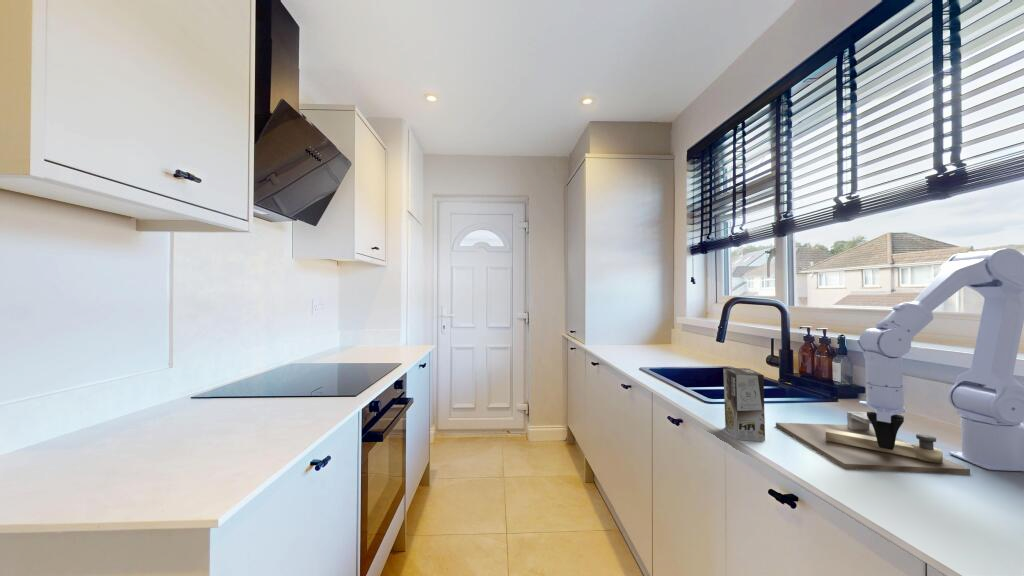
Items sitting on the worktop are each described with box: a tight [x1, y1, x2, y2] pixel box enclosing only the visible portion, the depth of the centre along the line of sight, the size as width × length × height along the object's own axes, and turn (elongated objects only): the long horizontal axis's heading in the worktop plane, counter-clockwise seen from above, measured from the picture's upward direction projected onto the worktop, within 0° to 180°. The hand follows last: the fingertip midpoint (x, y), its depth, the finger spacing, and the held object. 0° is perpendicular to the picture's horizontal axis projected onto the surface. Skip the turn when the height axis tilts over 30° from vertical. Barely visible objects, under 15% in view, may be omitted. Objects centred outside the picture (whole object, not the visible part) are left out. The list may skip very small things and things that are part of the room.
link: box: [826, 429, 944, 463], centre depth 83 cm, size 18×4×4 cm, turn 47°
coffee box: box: [723, 367, 766, 442], centre depth 96 cm, size 9×6×16 cm
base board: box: [775, 411, 971, 475], centre depth 87 cm, size 22×25×5 cm
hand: (886, 448), depth 81 cm, fingers closed, pressing on link
